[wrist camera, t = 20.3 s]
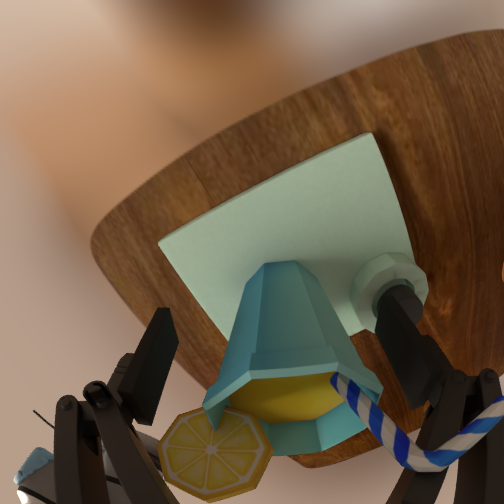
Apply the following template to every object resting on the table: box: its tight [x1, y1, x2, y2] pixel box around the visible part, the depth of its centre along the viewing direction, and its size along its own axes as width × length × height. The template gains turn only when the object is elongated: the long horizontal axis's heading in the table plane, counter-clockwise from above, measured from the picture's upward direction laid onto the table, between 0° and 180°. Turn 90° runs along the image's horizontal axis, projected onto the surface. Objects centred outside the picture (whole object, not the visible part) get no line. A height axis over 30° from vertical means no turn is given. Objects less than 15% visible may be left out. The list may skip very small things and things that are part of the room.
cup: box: [157, 260, 504, 503], centre depth 12 cm, size 14×8×15 cm, turn 119°
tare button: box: [377, 284, 423, 325], centre depth 16 cm, size 3×3×2 cm
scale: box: [158, 133, 429, 341], centre depth 18 cm, size 16×14×3 cm
